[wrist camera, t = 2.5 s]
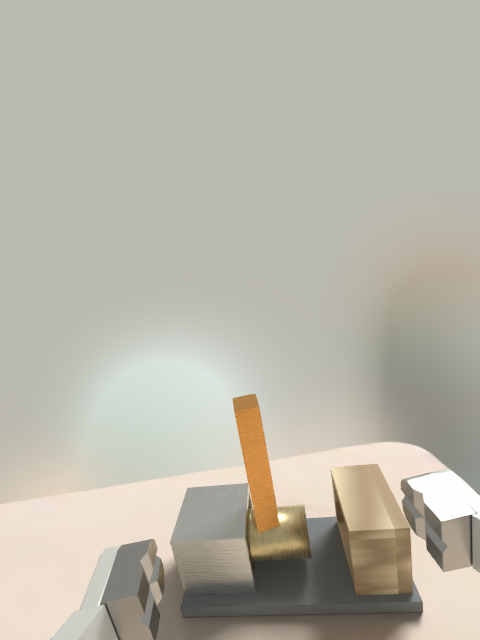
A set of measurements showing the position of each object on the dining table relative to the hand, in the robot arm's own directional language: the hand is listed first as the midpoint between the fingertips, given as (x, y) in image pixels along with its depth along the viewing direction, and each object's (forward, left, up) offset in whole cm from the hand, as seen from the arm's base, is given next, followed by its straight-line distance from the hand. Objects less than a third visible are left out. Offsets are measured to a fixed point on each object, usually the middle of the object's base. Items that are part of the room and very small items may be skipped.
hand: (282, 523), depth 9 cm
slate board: (-1, +12, -18) cm, 22 cm away
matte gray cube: (-7, +12, -17) cm, 22 cm away
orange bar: (-4, +12, -16) cm, 21 cm away
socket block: (+6, +12, -17) cm, 22 cm away
